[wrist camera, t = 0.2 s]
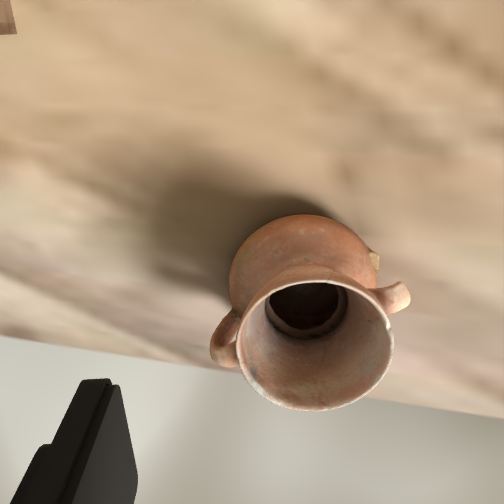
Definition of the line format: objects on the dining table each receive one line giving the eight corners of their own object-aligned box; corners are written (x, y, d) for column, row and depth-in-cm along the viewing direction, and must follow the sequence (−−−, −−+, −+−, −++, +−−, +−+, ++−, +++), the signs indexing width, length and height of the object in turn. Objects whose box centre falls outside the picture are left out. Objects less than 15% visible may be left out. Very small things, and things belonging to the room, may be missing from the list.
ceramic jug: (357, 179, 46) (398, 231, 33) (396, 302, 51) (445, 389, 38) (187, 242, 49) (162, 314, 36) (241, 353, 54) (236, 451, 41)
